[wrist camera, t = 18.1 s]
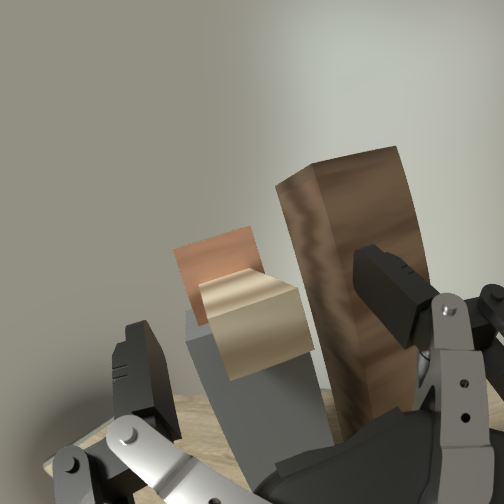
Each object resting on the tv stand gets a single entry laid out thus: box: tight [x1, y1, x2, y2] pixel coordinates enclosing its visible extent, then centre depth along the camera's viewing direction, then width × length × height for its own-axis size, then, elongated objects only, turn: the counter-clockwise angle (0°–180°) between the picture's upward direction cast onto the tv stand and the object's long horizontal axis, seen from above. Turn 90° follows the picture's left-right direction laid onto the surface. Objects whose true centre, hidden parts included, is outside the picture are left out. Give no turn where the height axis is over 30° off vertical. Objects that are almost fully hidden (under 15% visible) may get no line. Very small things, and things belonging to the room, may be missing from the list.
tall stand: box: [275, 146, 430, 443], centre depth 29 cm, size 10×8×32 cm
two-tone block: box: [173, 226, 314, 381], centre depth 21 cm, size 16×6×6 cm, turn 11°
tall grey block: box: [186, 309, 334, 492], centre depth 28 cm, size 10×8×23 cm
